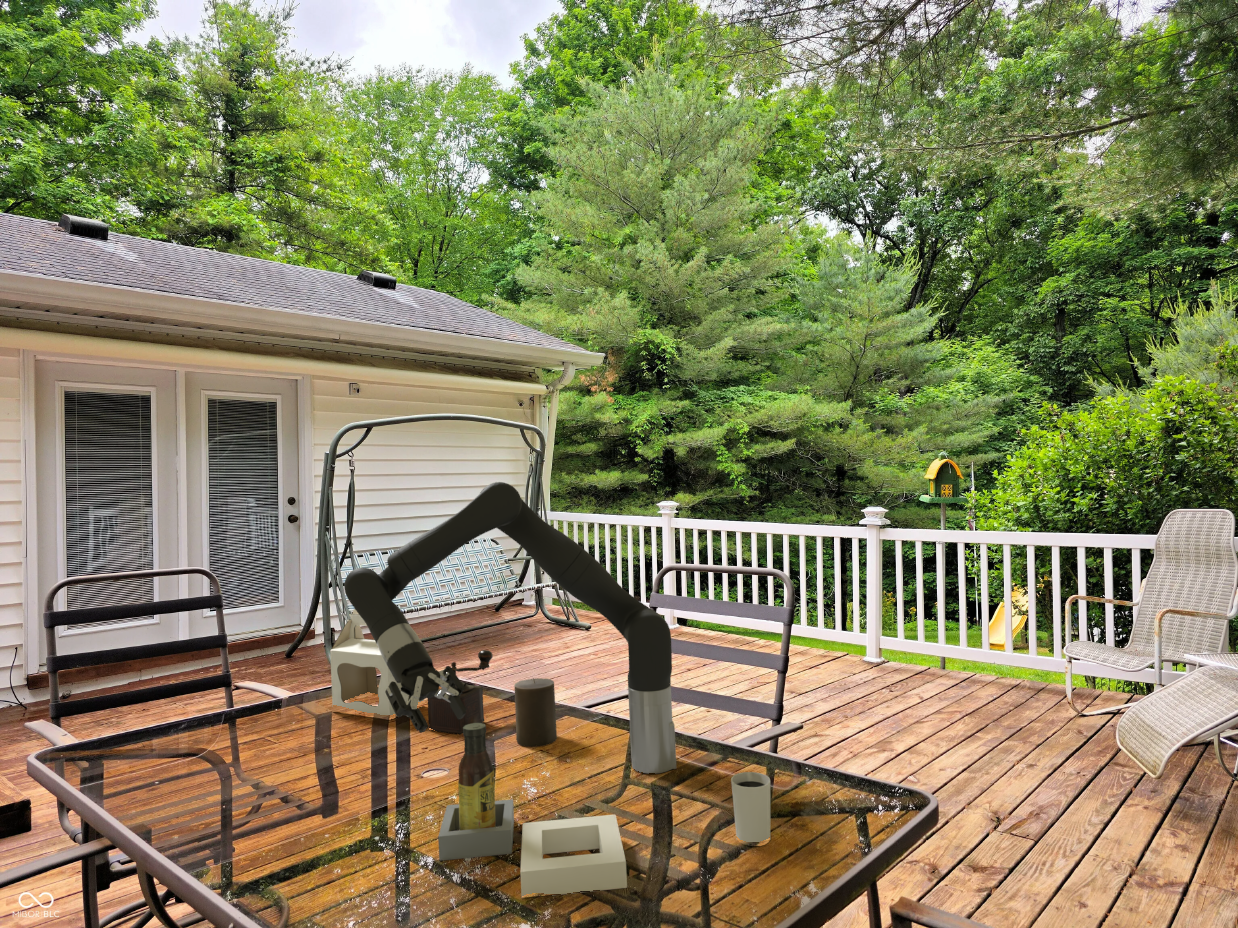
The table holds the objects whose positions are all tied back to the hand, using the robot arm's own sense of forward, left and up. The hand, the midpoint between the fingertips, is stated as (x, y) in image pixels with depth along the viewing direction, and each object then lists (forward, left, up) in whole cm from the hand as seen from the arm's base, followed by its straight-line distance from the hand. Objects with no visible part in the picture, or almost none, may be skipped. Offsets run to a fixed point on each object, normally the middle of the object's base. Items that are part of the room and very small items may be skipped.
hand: (444, 722), depth 138 cm
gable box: (+29, -77, -19) cm, 85 cm away
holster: (-6, +6, -19) cm, 21 cm away
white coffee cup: (-53, +15, -19) cm, 58 cm away
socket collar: (-22, +18, -19) cm, 34 cm away
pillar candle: (-16, -42, -19) cm, 49 cm away
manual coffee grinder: (+3, -59, -19) cm, 62 cm away
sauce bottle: (-6, +6, -19) cm, 21 cm away
